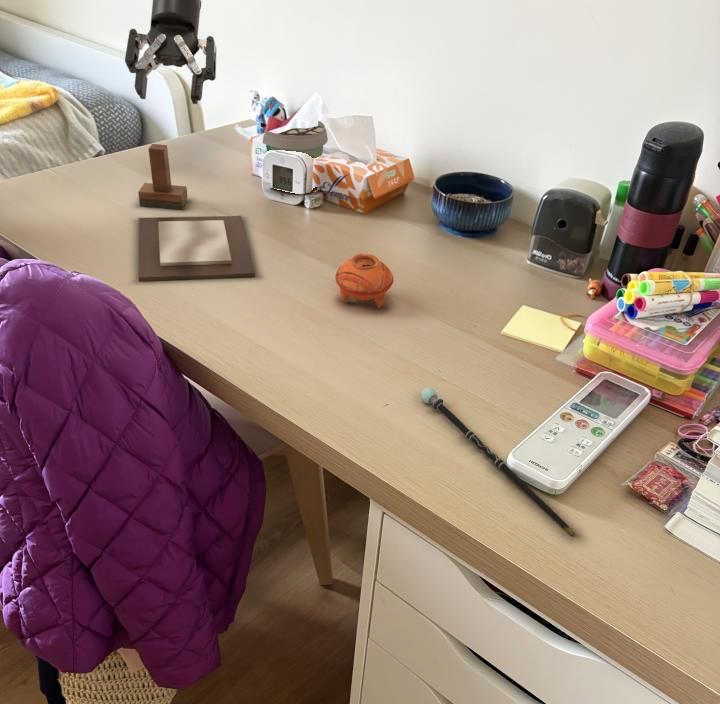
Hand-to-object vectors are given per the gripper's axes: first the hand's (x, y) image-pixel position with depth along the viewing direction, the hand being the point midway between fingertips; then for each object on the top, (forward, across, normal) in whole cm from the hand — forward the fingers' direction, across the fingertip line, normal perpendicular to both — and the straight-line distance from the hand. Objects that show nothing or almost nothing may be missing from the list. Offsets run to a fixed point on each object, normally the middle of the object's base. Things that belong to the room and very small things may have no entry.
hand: (167, 98), depth 116 cm
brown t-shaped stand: (+16, 0, +3) cm, 16 cm away
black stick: (+58, +49, -39) cm, 85 cm away
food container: (+8, +22, +11) cm, 26 cm away
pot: (+35, +34, -16) cm, 52 cm away
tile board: (+27, +8, -8) cm, 29 cm away
